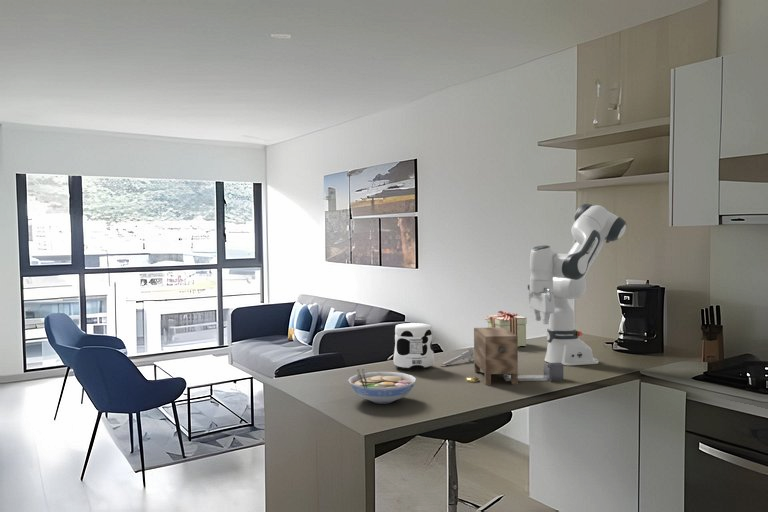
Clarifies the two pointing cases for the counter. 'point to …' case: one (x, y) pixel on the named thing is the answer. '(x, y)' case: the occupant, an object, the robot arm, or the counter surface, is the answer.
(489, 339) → the cabinet
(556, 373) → the scraper
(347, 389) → the counter surface
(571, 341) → the robot arm
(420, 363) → the milk container
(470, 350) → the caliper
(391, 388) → the ramen bowl
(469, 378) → the token
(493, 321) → the gift box
